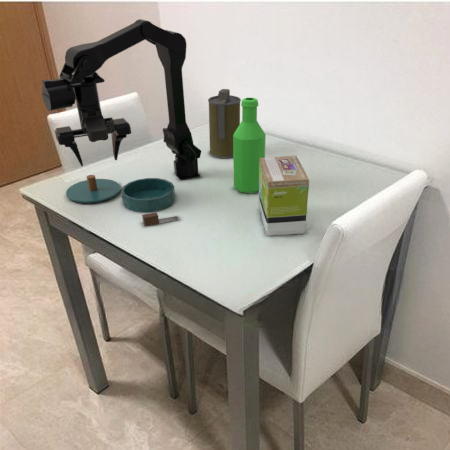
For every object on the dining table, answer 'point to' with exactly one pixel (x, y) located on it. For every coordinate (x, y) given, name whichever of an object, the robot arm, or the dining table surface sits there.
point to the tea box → (283, 195)
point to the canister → (223, 123)
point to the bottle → (248, 148)
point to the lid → (93, 190)
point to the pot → (148, 194)
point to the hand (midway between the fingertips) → (99, 162)
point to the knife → (155, 219)
